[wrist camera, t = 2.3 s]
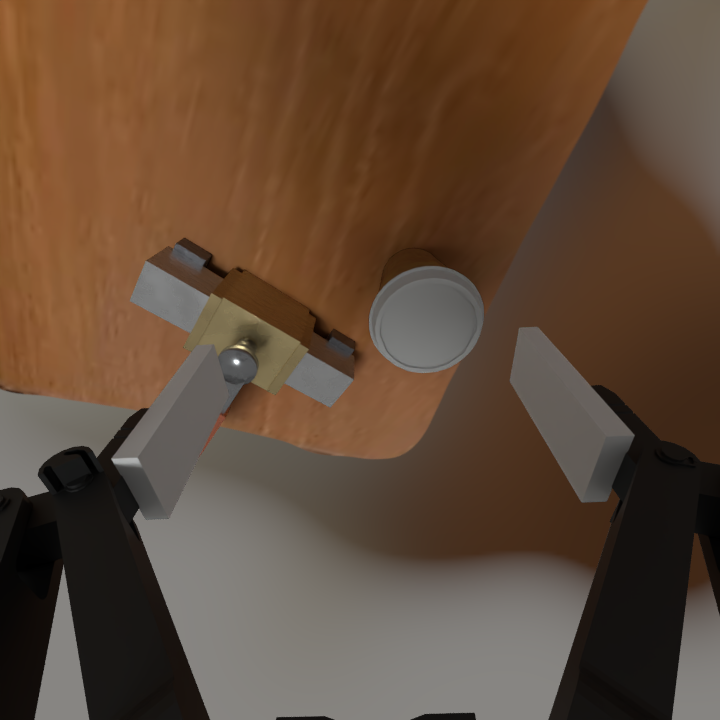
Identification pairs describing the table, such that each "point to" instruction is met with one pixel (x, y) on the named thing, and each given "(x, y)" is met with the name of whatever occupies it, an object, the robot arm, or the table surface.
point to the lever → (234, 376)
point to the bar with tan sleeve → (246, 322)
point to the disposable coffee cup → (424, 313)
